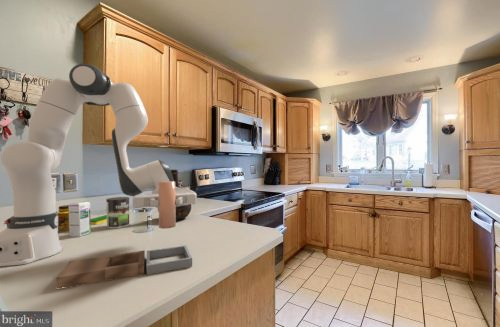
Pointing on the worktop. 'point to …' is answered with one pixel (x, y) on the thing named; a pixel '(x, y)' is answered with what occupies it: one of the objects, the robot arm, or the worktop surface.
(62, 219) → the condiment
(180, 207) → the dark brown vase
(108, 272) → the partly covered box
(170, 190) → the peach cylinder
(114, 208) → the coffee can
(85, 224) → the syrup box
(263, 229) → the worktop surface
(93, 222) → the dish sponge
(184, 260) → the grey square frame
